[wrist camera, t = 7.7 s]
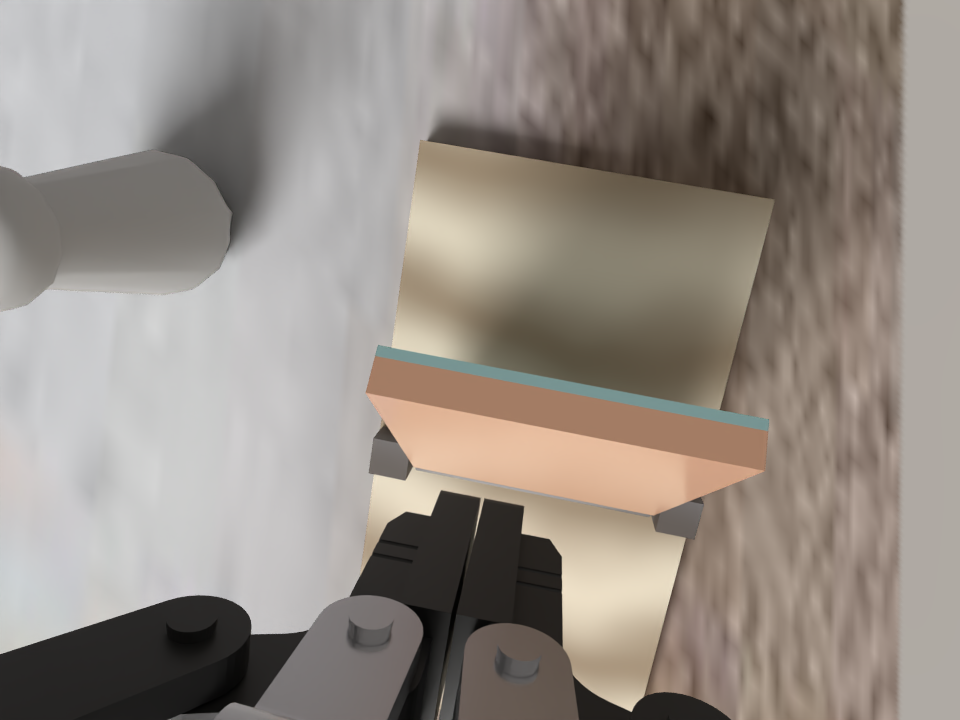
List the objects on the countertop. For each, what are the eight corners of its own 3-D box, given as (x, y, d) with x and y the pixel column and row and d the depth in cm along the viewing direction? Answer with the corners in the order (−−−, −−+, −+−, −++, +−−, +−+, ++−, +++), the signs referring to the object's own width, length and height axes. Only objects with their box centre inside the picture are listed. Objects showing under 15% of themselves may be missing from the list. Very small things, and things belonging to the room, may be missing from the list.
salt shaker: (194, 125, 30) (-72, 75, 17) (278, 234, 31) (81, 263, 18) (102, 208, 31) (-207, 218, 19) (185, 311, 32) (-60, 388, 19)
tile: (416, 471, 30) (423, 442, 31) (646, 518, 30) (650, 488, 30) (365, 392, 18) (378, 344, 18) (764, 471, 17) (769, 419, 17)
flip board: (426, 142, 29) (411, 136, 26) (766, 199, 28) (788, 200, 25) (351, 672, 35) (334, 711, 33) (626, 734, 34) (632, 780, 32)
